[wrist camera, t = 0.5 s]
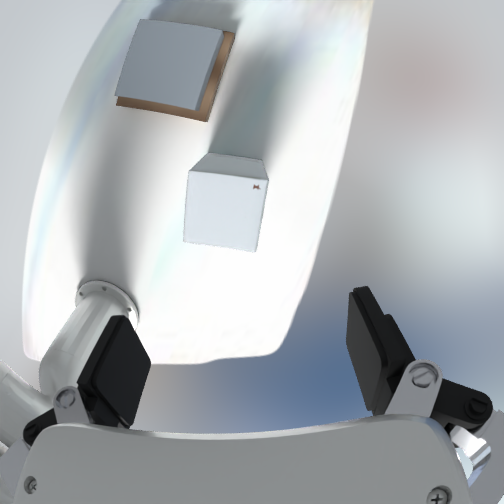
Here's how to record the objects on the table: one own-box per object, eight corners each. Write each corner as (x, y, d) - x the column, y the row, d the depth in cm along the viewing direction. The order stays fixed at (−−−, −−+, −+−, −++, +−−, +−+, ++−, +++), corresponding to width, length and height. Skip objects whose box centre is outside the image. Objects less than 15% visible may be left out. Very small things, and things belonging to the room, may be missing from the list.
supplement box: (206, 151, 35) (187, 166, 24) (263, 159, 36) (272, 178, 25) (199, 204, 38) (180, 243, 27) (254, 212, 39) (257, 254, 28)
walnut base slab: (208, 121, 34) (205, 121, 31) (124, 105, 32) (115, 105, 30) (235, 39, 29) (234, 33, 26) (149, 26, 27) (142, 20, 25)
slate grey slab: (198, 111, 31) (194, 110, 28) (124, 96, 29) (114, 95, 27) (224, 37, 27) (222, 30, 24) (148, 25, 25) (140, 19, 22)
